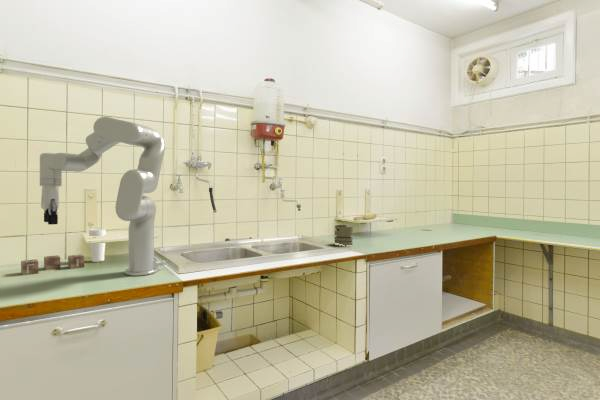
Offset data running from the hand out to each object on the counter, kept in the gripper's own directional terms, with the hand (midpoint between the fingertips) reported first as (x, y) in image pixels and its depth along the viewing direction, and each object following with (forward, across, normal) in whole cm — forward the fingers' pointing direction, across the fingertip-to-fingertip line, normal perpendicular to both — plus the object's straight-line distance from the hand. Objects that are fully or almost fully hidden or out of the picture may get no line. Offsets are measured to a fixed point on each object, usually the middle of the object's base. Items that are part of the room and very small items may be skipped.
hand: (50, 223), depth 146 cm
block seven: (+20, +4, -7) cm, 21 cm away
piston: (+17, +44, +144) cm, 152 cm away
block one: (+19, +4, +9) cm, 22 cm away
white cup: (+19, -3, +19) cm, 27 cm away
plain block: (+20, 0, +1) cm, 20 cm away
